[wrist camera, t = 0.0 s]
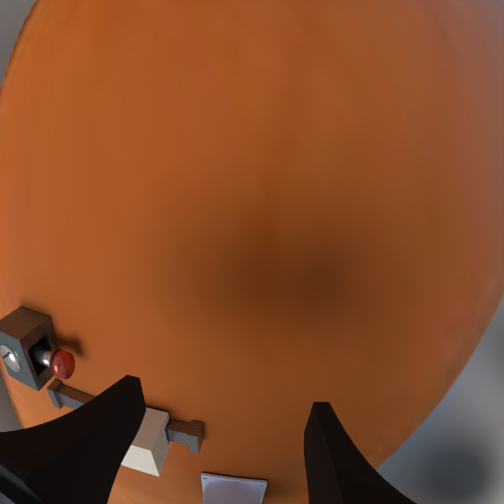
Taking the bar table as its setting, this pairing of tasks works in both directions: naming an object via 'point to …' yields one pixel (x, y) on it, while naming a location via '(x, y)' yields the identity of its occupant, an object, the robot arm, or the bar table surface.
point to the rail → (174, 428)
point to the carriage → (149, 444)
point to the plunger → (55, 361)
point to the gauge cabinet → (26, 345)
